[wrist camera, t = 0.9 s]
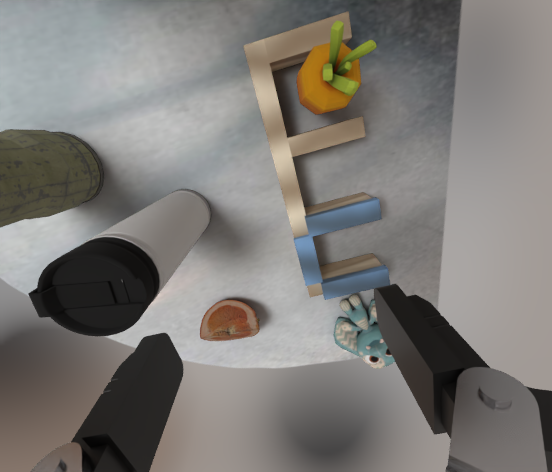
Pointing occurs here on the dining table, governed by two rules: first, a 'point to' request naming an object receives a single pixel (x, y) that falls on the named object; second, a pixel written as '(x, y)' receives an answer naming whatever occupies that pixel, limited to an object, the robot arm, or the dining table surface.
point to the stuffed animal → (362, 334)
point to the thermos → (45, 174)
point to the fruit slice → (229, 321)
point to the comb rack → (325, 215)
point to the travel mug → (121, 267)
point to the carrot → (331, 73)
